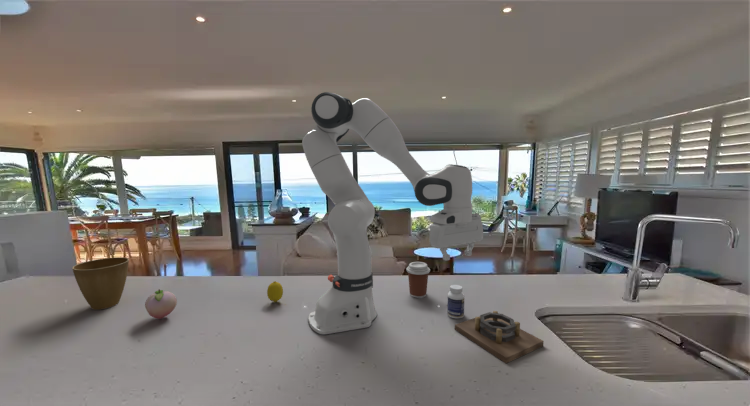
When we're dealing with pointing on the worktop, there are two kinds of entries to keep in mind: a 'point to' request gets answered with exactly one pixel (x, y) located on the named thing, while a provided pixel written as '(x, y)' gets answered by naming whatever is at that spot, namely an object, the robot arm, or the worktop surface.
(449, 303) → the pill bottle
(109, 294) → the plant pot
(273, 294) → the lemon
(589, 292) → the worktop surface
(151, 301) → the decorative fruit
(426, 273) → the coffee cup
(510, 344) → the collar stand
